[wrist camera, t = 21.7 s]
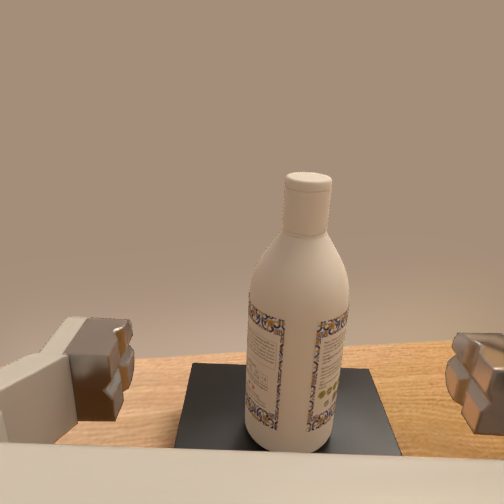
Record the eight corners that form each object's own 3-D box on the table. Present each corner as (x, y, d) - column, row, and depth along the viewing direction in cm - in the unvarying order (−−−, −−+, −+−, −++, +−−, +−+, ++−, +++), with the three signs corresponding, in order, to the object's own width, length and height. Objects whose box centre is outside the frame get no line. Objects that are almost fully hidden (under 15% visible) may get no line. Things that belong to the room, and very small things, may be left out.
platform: (164, 558, 29) (160, 507, 28) (193, 403, 43) (192, 362, 41) (412, 566, 30) (426, 515, 28) (362, 409, 43) (368, 368, 42)
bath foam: (327, 397, 38) (356, 168, 30) (336, 463, 31) (376, 193, 24) (247, 391, 38) (256, 163, 30) (240, 456, 31) (249, 186, 24)
